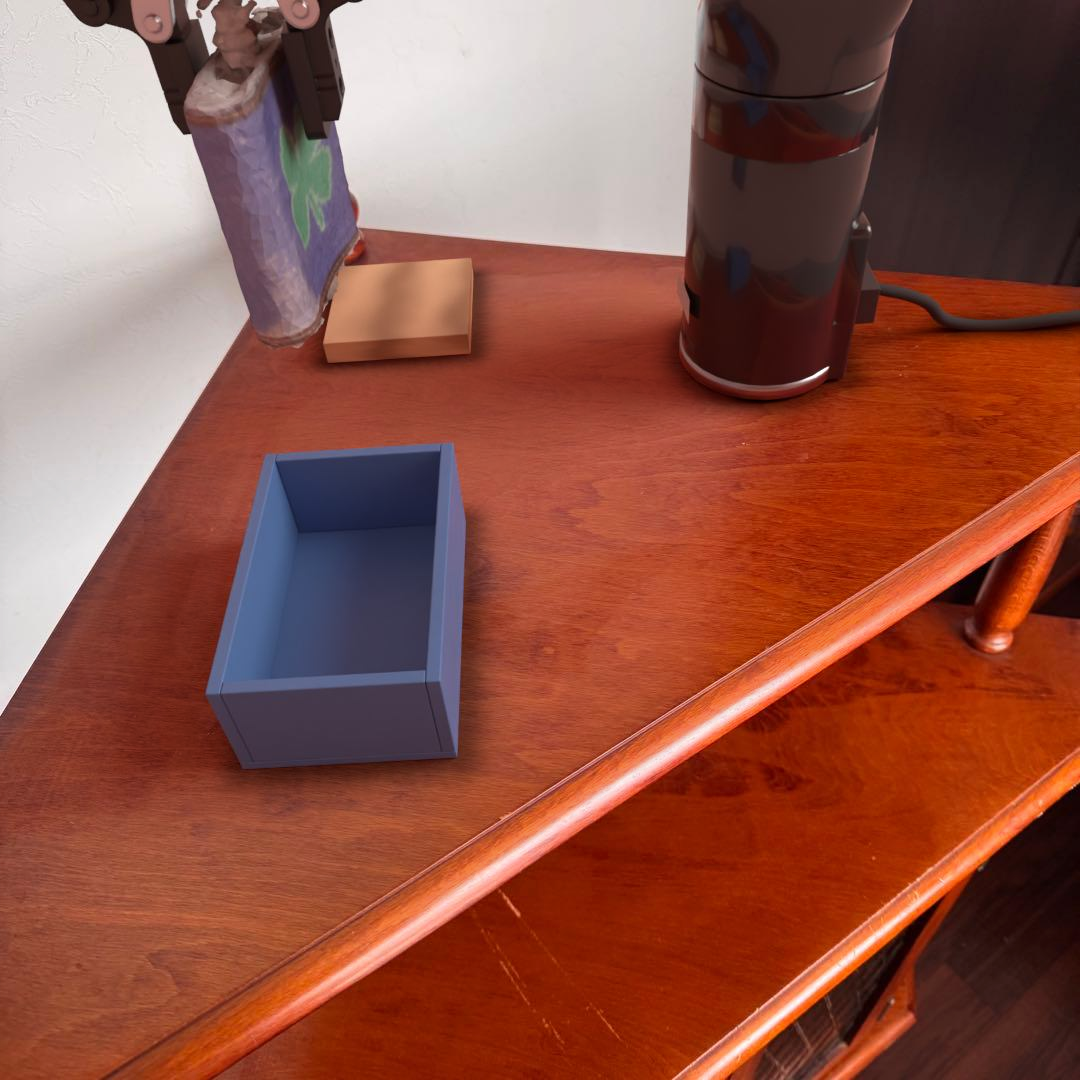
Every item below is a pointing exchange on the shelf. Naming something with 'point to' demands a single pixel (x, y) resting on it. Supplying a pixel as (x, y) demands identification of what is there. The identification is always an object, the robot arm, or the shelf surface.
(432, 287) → the board
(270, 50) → the flask
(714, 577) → the shelf surface
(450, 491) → the bin
